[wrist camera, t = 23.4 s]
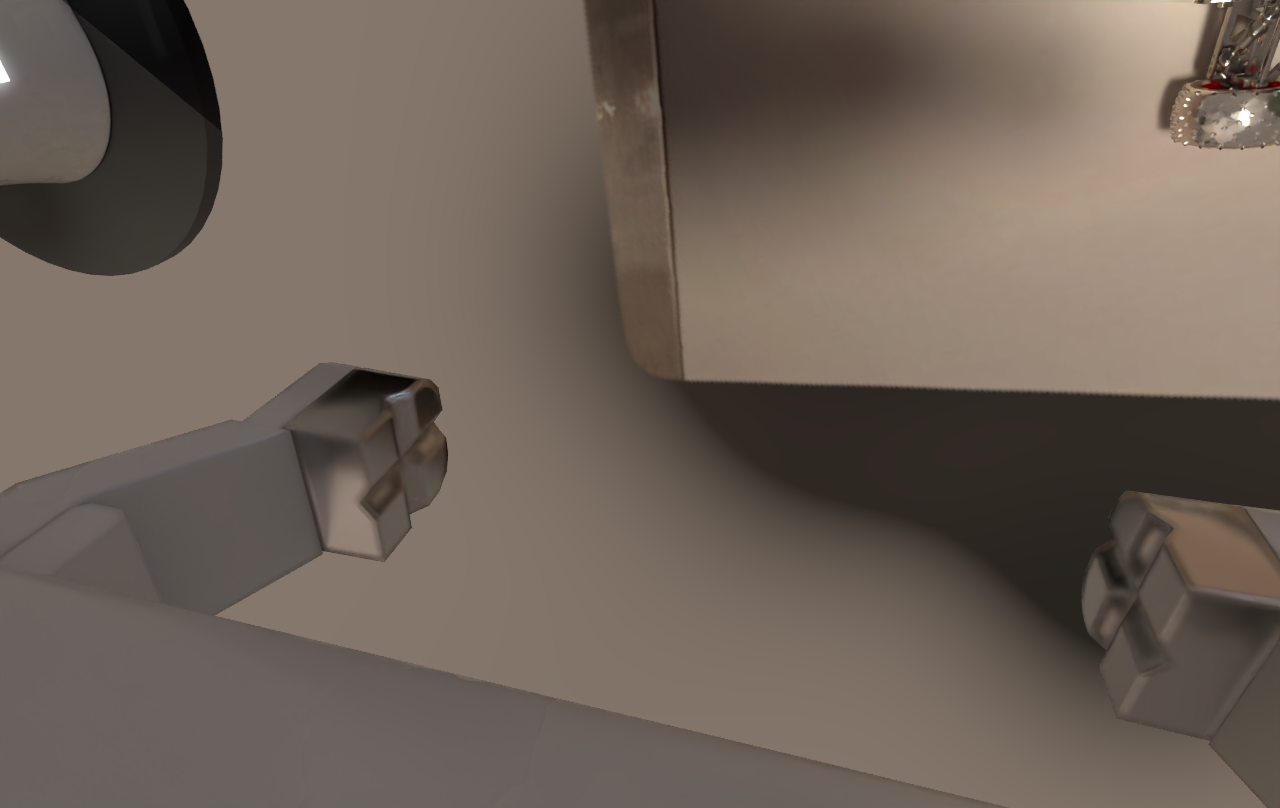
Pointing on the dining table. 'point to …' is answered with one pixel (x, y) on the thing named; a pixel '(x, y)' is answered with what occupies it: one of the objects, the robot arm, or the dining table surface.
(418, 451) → the robot arm
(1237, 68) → the toy car
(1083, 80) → the dining table surface
